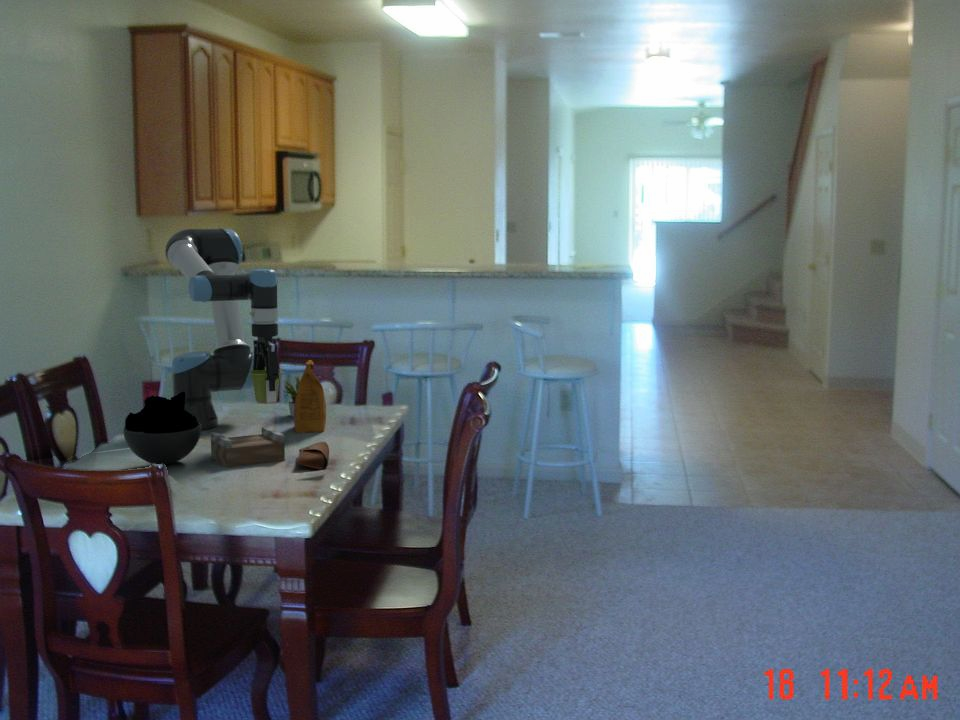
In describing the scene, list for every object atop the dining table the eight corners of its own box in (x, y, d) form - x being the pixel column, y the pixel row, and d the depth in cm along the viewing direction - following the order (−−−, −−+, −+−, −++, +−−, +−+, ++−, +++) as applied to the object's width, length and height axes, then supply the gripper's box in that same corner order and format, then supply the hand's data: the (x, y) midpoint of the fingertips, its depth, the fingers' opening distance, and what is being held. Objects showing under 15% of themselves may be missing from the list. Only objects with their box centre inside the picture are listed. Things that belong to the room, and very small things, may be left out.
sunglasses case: (297, 448, 280) (313, 431, 280) (316, 465, 282) (332, 447, 282) (294, 463, 263) (312, 443, 263) (315, 480, 264) (332, 461, 264)
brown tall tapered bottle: (327, 427, 323) (325, 358, 320) (326, 434, 310) (325, 363, 308) (295, 428, 321) (293, 359, 319) (293, 435, 309) (291, 364, 307)
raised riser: (211, 457, 279) (210, 432, 278) (267, 451, 287) (266, 426, 286) (226, 467, 267) (226, 441, 266) (284, 460, 275) (284, 435, 274)
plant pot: (275, 404, 292) (274, 374, 291) (244, 402, 294) (243, 373, 293) (287, 398, 301) (287, 369, 300) (257, 397, 303) (257, 368, 302)
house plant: (325, 416, 343) (324, 368, 341) (325, 423, 329) (324, 373, 327) (282, 417, 341) (281, 369, 339) (280, 424, 327) (279, 374, 325)
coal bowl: (130, 475, 258) (127, 402, 256) (119, 459, 276) (116, 391, 274) (210, 467, 267) (207, 396, 265) (194, 452, 285) (192, 386, 283)
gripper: (240, 320, 301) (242, 395, 304) (264, 326, 283) (266, 406, 287) (264, 319, 305) (266, 393, 308) (289, 325, 287) (291, 404, 290)
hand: (266, 399), depth 297 cm, fingers closed on plant pot, 8 cm apart
